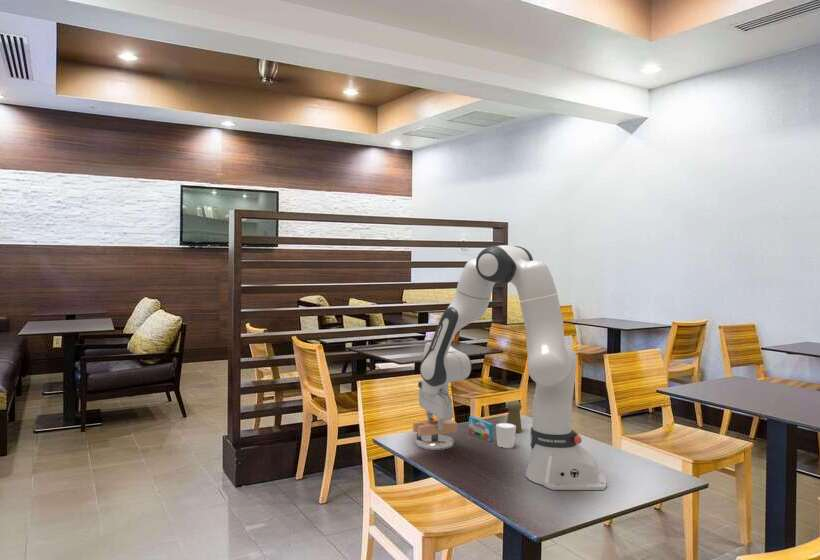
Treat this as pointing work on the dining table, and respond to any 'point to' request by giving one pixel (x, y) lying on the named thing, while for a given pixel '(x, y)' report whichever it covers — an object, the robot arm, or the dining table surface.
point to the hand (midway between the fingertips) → (435, 426)
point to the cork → (514, 415)
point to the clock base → (434, 442)
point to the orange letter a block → (434, 427)
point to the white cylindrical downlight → (505, 435)
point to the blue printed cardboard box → (480, 428)
